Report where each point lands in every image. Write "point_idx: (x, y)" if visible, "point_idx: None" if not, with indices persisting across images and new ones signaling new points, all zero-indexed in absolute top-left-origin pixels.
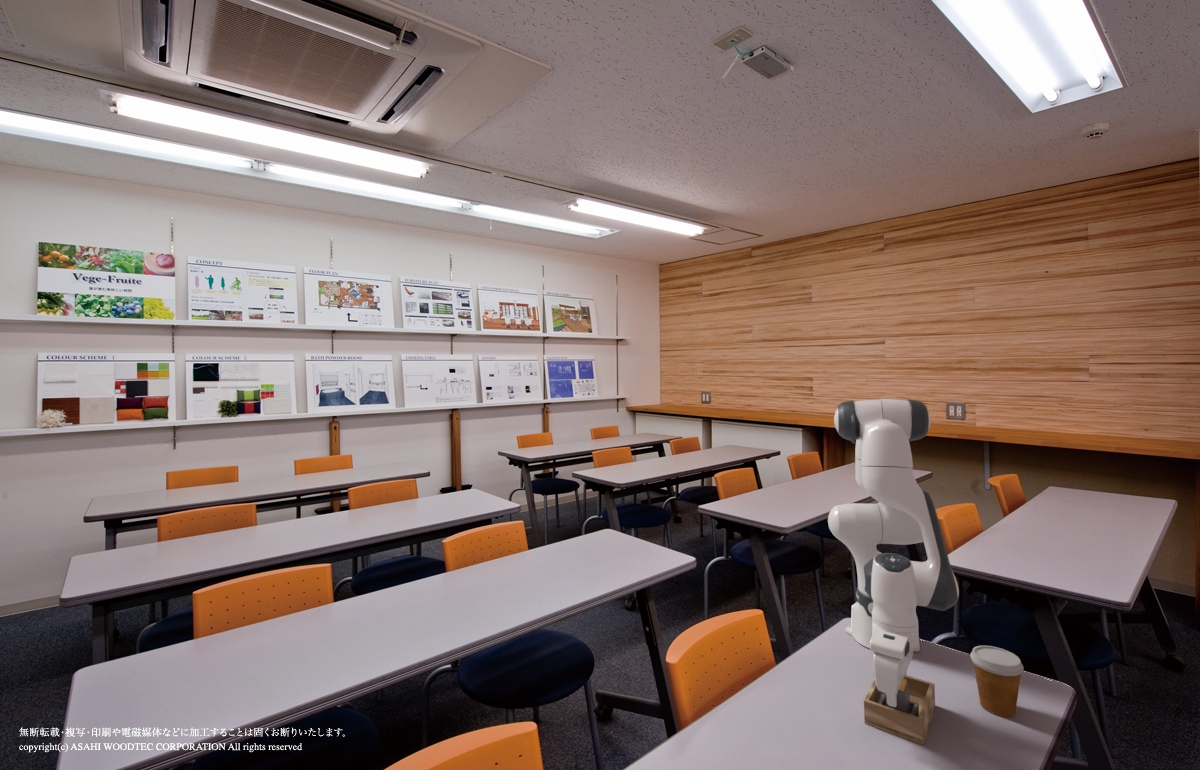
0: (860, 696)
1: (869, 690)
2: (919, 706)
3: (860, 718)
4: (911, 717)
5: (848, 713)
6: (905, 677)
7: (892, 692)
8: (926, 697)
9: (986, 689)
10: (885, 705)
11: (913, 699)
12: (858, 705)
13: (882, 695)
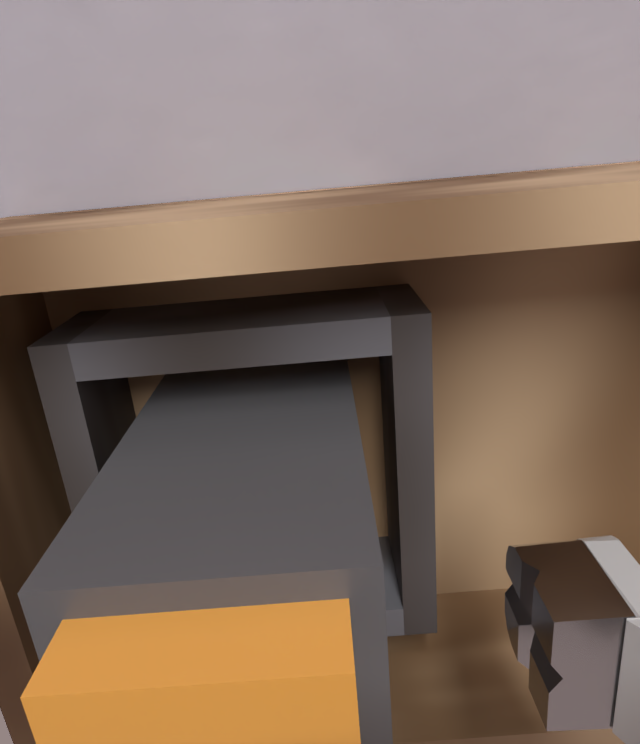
0: (445, 11)
1: (166, 227)
2: (545, 533)
3: (52, 156)
4: (12, 722)
5: (32, 18)
6: (594, 722)
7: None
8: (491, 742)
9: None
10: (133, 426)
11: (633, 474)
12: (256, 57)
13: (340, 330)
